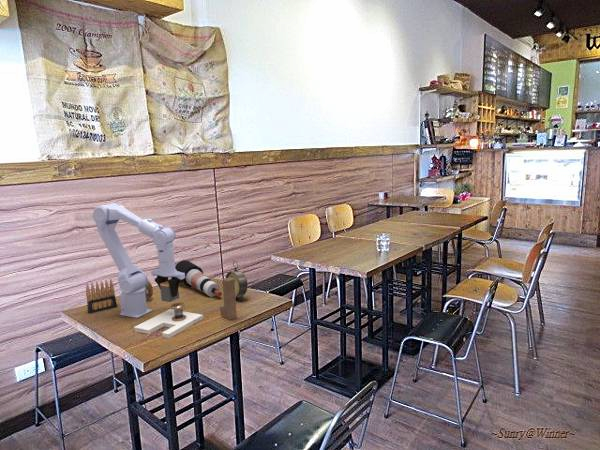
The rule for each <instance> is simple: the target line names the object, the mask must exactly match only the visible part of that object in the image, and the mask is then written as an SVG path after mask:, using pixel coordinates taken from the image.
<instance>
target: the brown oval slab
mask: <svg viewBox="0 0 600 450" xmlns="http://www.w3.org/2000/svg"><path fill="white" fill-rule="evenodd" d="M145 287H146V289H145V296H146V300H149V299H151V298H152V296H153V295H154V294H153V293H154V292H153V291H154V289H153V285H152V283H151V282H150V281H149V280H148V284H147V285H146V286H145Z"/></svg>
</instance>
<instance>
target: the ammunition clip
mask: <svg viewBox="0 0 600 450" xmlns="http://www.w3.org/2000/svg"><path fill="white" fill-rule="evenodd" d="M104 282H105V283H104ZM104 282H103V281H102V280H101V281H100V284H99V282H98V281H96V282H95V286H94V283H93V282H91V284H90V286H89V284H88V283H86V285H85V286H86V287H85V289H86V292H85V293H86V303H87V304H86V306H87V313H88V314H89V315H90V314H94V313H99V312H104V311H107V310H110V309H111V310H112V309H115V308H117V307H118V305H117V299H116V293H115V287H114V283H113V280H112V278H110V279H109V282H108V280H107V279H105V281H104ZM90 290H91V291H90Z"/></svg>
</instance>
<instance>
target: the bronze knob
mask: <svg viewBox="0 0 600 450" xmlns="http://www.w3.org/2000/svg"><path fill="white" fill-rule="evenodd" d="M185 307H186V304H185V303H183V302H178V303H173V304H171V305H170V309H171V310H174V315H175V316H173V317H172V320H173V321H182V320H185V319H186V315H183V312H184V311H183V309H185Z"/></svg>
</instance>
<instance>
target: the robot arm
mask: <svg viewBox="0 0 600 450" xmlns="http://www.w3.org/2000/svg"><path fill="white" fill-rule="evenodd" d="M91 217H92V219H93V221H94V222H95V224H96V229H97V232H98V234H99V236H100V238H101V240H102V242H103V243H104V245H105V247H106V249H107V251H108V253H109V254H110V256H111V258H112V260H113V262H114V263H115V266H116V267H117V269H118V271H119V274H118V276H117V281H118V283H119V289H120V290H121V293H120V295H119V305H120V306H119V307H120V313H119V316H122V317H123V316H125V317H128V318H129V317H130V318H135V319H138V318H140V317H142V316H145V315H147V314H149V313H150V312H152V311H153V309H151V308H150V309H149V308H148V307H147V299H146V296H145V289H146V287H145V286H146V285H147V284H148V281H149V278H148V276H147V274H145V272H143V270H142V269H141V267H139V266H137V265H134V263H133V261H132V259H131V258H130V256H129V254H128V252H127V250H126V248H125V247H124V245H123V242H122V241H121V239H120V238H119V235H118V234H117V232H116V226H117V225H118V224H119V222H120V221H123V222H125V223H127V224H130V225H132V226H133V227H136V228H137V229H138V232H139V233H141V234H143V235H144V236H146V237H148V238H149V239H152V241H153V243H154V244H155V247H156V250H157V259H158V269H153V270H151V271H150V273H151V275H150V276H152V277H155V278H154V281H155V283H156V284H157V286H158V288H159V290H160V291H161V289H160V284H161V283H163V282H166V281H168V283H169V285H170V289H171V295H172V297H175V296H177V293H178V291H179V286H180V285H181V283H182V282H181V280H182V279H184V278H185V273H182V272H179V271H177V270H176V269H175V266H176V261H175V259H176V258H175V250H174V248H175V247H174V241H175V240H176V232H175V230H174V229H173V228H172V227H170V226H166V227H164V226H163V225H162V224H159V223H156V222H155V221H154V220H153V219H152V218H141V217H140V216H138V215H137V214H135V213H133V212H132V211H130V210H128V209H127V208H126V207H125V205H123V204H121V203H119V202H113V203H112V202H111V203H108V204H104V205H97V206H95V207H94V209H93V211H92V215H91Z"/></svg>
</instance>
